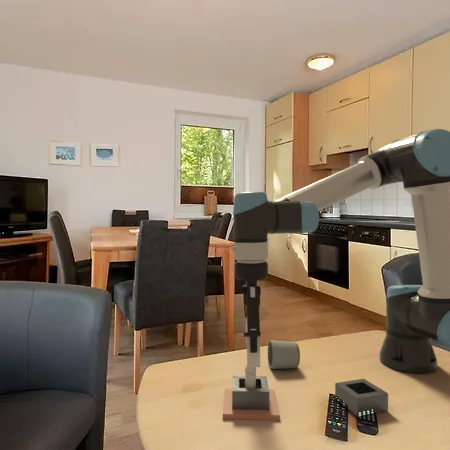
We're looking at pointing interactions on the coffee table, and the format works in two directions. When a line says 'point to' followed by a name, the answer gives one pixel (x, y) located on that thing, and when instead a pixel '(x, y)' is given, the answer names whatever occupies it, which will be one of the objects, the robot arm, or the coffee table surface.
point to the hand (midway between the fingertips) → (252, 354)
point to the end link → (250, 394)
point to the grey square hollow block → (362, 396)
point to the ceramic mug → (283, 354)
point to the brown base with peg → (250, 414)
